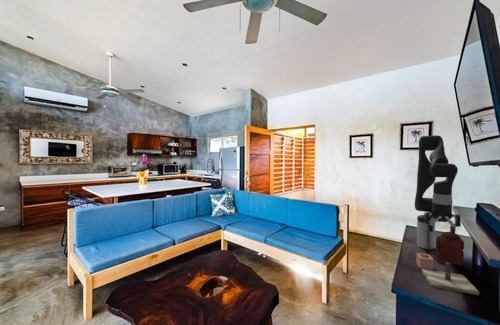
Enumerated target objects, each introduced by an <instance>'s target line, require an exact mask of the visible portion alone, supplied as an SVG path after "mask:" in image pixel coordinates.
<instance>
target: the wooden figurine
mask: <svg viewBox="0 0 500 325" xmlns="http://www.w3.org/2000/svg"><path fill="white" fill-rule="evenodd" d="M464 249H465V241H464V239H462V238H461V236H460V235H458V234H457V233H456V232H455V233H454V234H451V233H450V231H444V232H442V233H441V234H440V235H439V236H437V237H435V250H436V252H437V254H436V258H435V259H436V260H435V261H437V262H439V263H440V264H444V265H445V263H446V262H447V263H450V264H451V266H452V265H455V266H462V265H463V263H464V259H465V258H464V257H465V252H464Z"/></svg>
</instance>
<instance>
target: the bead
mask: <svg viewBox="0 0 500 325" xmlns="http://www.w3.org/2000/svg"><path fill="white" fill-rule="evenodd" d="M434 260H435V259H434V258H433V257H432V256H431V254H427V253H420V252H416V265H417V266H418V267H419V269H421V270H422V269H428V270H434V268H435V267H434V265H435V264H434V263H435V262H434Z"/></svg>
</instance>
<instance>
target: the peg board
mask: <svg viewBox="0 0 500 325" xmlns="http://www.w3.org/2000/svg"><path fill="white" fill-rule="evenodd" d="M444 265H445V266H444V267H445V271H440V270H428V269H421V273H422V274H423V275H424V277H425V279H426V280H427V282H428V283H429V284H430V286H431V287H432V286H433V288H438V289H444V290H449V291H453V292H459V293H464V294H470V295H476V296H480V291H479V290H478V289H477V287H475V286H474V285H473V284H472V283H471V282H470V281H469V280H468V279H467V278H466V276H465V275H463V274H460V273H459V274H458V273H452V264H450V263H447V262H446V263H445V264H444Z"/></svg>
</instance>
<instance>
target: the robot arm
mask: <svg viewBox="0 0 500 325" xmlns="http://www.w3.org/2000/svg"><path fill="white" fill-rule="evenodd" d="M427 151H432V152H430V154H429V158H428V157H427V154H426V152H427ZM458 170H459V169H458V167H457V165H455V164H454V163H450V162H449V159H448V158H447V156H446V151H445V145H444V140H443V138H442V136H440V135H437V134H436V135H422V136H420V137H419V139H418V166H417V174H416V191H415V198H414V209H415V210H416V211H418V212H424V213H423V214H419V215H418V216H417V219H416V222H417V223H416V245H417V246H418V247H419V248H421V249H424V250H435V249H436V223H437V222H439V223H440V222H442V223H448V225H450V226H449V232H450V233H451V234H454V233H456V228H457V227H459V228H460V227H461V226H462V225H461V221H462V220H461V215H460V214H459V213H453V184H454V182H455V179H456V177H457V174H458ZM436 178H445V179H444V180H442V181H441V180H439V181H436ZM432 186H433V188H432V190H433V191H432V192H433V193H432V197H424V194H425V193H426V191H427V190H429V188H431V187H432ZM452 218H454V222H453V221H452V220H451V219H452Z"/></svg>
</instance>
